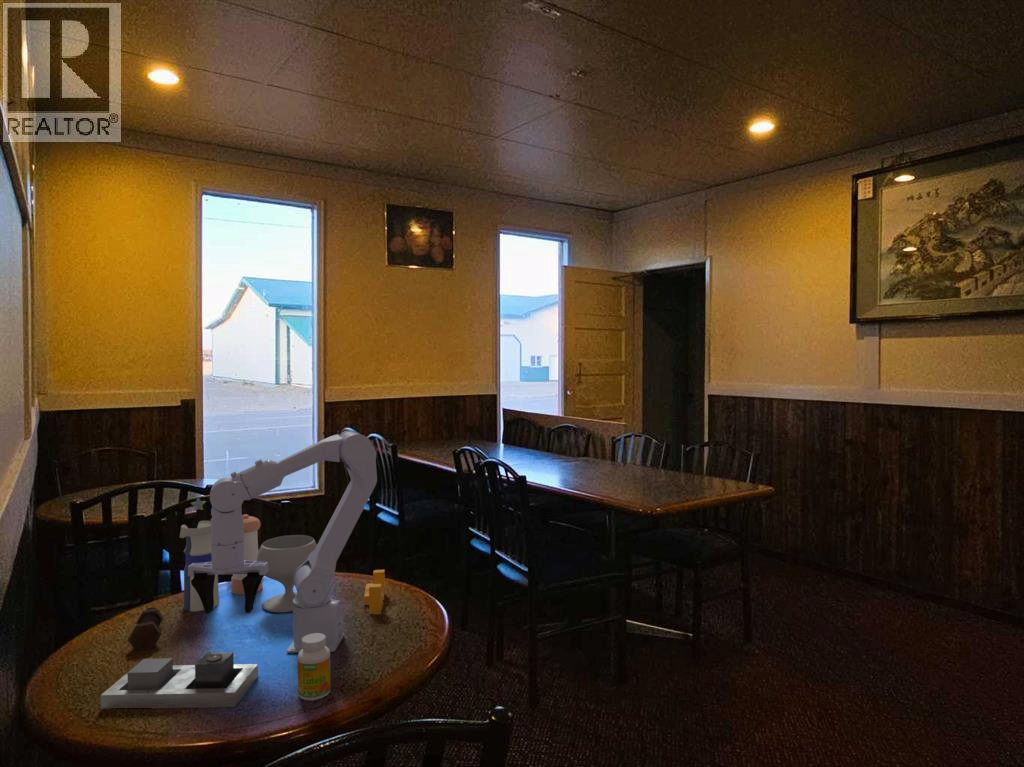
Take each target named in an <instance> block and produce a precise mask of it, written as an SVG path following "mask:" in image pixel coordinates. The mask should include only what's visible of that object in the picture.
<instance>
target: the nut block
mask: <svg viewBox="0 0 1024 767" xmlns="http://www.w3.org/2000/svg"><path fill="white" fill-rule="evenodd" d="M234 662H235V661H234V652H232V651H231V652H228V651H227V652H226V651H224V652H223V651H220V652H218V651H217V652H213V651H212V652H206V654H205V655H204V656H203V657H201V658H200V659H199V660H198V661H197V662H196V663H195V664H194V665H195V689H216V688H227V687H228V686H229V685H230V683H231V682H232V681H233V680H234V664H235V663H234Z"/></svg>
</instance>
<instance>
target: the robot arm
mask: <svg viewBox="0 0 1024 767" xmlns="http://www.w3.org/2000/svg"><path fill="white" fill-rule="evenodd" d="M376 458H377V451H376V450H375V447H374V445H373V443H372V441H371V439H369V438H368V437H367V436H366V435H364V434H361V433H360V432H358V431H356V430H352V429H350V430H349V429H348V430H345V431H343V432H341V433H340V434H333V435H331V436H330V435H329V436H328V437H326V438H324V439H321V440H319V441H317V442H315V443H313V444H311V445H309V446H307V447H305V448H303V449H302V450H299V451H297V452H295V453H293V454H291V455H289V456H286V457H285V458H283V459H281V460H279V461H274V460H272V459H266V460H262V459H258V460H256V461H255V462H254V465H252V466H250V467H248V468H246V469H244V470H241V471H239V472H236V471H233V472H231V473H230V477H222V478H220V479H218V480H217V481H215V482H213V485H212V486H211V489H210V492H209V501H210V503H211V504H210V505H211V509H210V512H211V513H210V516H211V518H210V521H211V550H212V562H203V563H192V564H191V565H189V566H188V576H194V579H192V580H191V585H192V586H193V587H194V588H195V590H196V591H197V593H198V595H199V597H200V599H201V601H202V604H203V607H204V610H203V611H204V613H205V614H207V615H208V614H210V613H211V612H212V611H214V608H215V607H214V595H213V590H214V580H215V575H218V576H220V575H233V574H247V576H246V577H244V578H243V579H242V584H243V588H244V594H245V595H244V612H245V614H250V613H251V612H252V611H253V610H254V606H255V601H256V597H257V590H258V587H259V585H260V583H261V580H262V581H263V578H264V577H265V576H264V575H265V574H266V573H267V572H268V562H257V561H248V560H244V524H243V515H244V514H243V513H242V510H243V509H242V505H243V503H244V501H251V500H252V499H255V498H257V497H260V496H261V495H263V494H265V493H267V492H270V491H272V490H274V489H276V488H278V487H280V486H281V485H282V483H283V479H285V477H287V476H289V475H292V474H294V473H296V472H299V471H301V470H303V469H306V468H308V467H311V466H313V465H315V464H318V463H321V462H323V461H325V462H326V461H328V462H335V463H340V461H342V462H343V463H344V464H345V467H346V470H347V472H348V475H349V477H350V481H349V482H348V485H347V486H346V488H345V491H344V493H343V495H342V497H341V499H340V500H339V502H338V505H336V508H335V510H334V511H333V514H332V516H331V518H330V519H329V521H328V524H327V525H326V527H325V529H324V530H323V532H322V535H321V536H320V539H319V540H318V543H316V544H317V546H316V548H315V550H314V551H312V552H311V553H310V554H309V556H308V558H307V559H306V561H305V562H304V563H303V564H302V565H300V566H299V567H298V568H297V569H296V571H295V573H294V575H293V582H294V587H295V588H296V589H295V590H296V592H297V595H296V597H295V598H294V599H293V611H292V613H293V614H292V615H293V616H292V618H293V619H292V620H293V621H292V622H293V623H292V624H293V627H292V629H293V641H292V642H291V644H290V645H289V646H288V647H287V649H286V652H287V654H288V653H290V654H292V653H293V654H294V653H298V654H299V652H300V651H301V650H302V638H303V637H304V636H306V635H308V634H313V633H321V634H324V635H325V636H326V645H325V646H326V647H328V648H329V650H330V653H334V652H336V650H337V648H338V647H339V645H340V643H341V642H342V640H343V638H344V636H345V633H344V609H343V608H344V607H343V602H342V601H341V600H340V599H335V598H334V599H332V598H331V596H330V594H331V585H332V584H331V583H332V580H333V578H334V576H335V573H336V566H337V561H338V559H339V557H340V556H341V553H342V552H343V550H344V548H345V546H346V544H347V543H348V542H347V541H348V540H349V538H350V536H351V534H352V532H353V531H354V528H355V526H356V524H357V522H358V520H359V519H360V516H361V514H362V513H363V511H364V509H365V507H366V504H367V503H368V501H369V499H370V496H371V495H372V493H373V491H374V489H375V487H376V485H377V482H378V474H377V472H378V471H377V460H376Z"/></svg>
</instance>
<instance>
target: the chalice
mask: <svg viewBox="0 0 1024 767" xmlns="http://www.w3.org/2000/svg"><path fill="white" fill-rule="evenodd" d="M317 544H318V543H316V540H315V539H314V537H312V536H309V535H306V534H289V535H281V536H276V537H272V538H268V539H266V540H265V541H263V542H262V543H261V545H260V546H259V548H258V550H259V552H258V557H257V562H268V572H267V573H266V574H265V575H264V576H263V577H265V578H269V579H271V580H274V581H277V582H278V583H280V584H282V586H283V587H284V593H282V594H281V593H280V594H277V595H275V596H272V597H270V598H268V599H266V600H265V601H264V602H263V603H262V604H261V608H262V609H263V610H265V611H266V612H270V613H289V612H293V599H294V598H295V597H296V595H297V591H295V592H294V587H295V585H294V582H293V575H294V573H295V571H296V569H297V568H298V567H299V566H300V565H302V564H303V563H304V562H305V561H306V559H307V558H308V556H309V554H310V553H311V552H312V551H314V550H315V548H316V546H317Z"/></svg>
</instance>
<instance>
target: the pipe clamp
mask: <svg viewBox="0 0 1024 767" xmlns="http://www.w3.org/2000/svg"><path fill="white" fill-rule="evenodd" d="M372 575H373V576H372V579H373V580H372V582H371V583H366V586H365V589H364V590H365V591H364V596H363V605H364V604H368V603H369V606H368V608H369V612H368V613H375V612H376V613H377V612H381V610H382V611H383V607H382V605H383V606H384V602H383V600H384V601H385V598H384V594H385V595H386V571H385V569H375V570H374V569H373V573H372ZM381 613H382V612H381Z"/></svg>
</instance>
